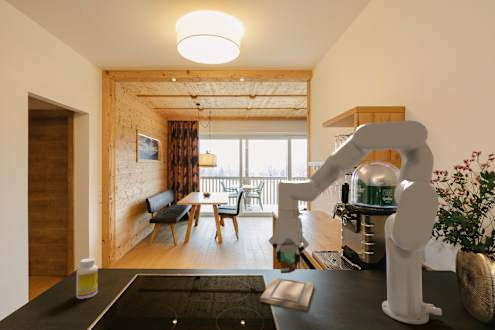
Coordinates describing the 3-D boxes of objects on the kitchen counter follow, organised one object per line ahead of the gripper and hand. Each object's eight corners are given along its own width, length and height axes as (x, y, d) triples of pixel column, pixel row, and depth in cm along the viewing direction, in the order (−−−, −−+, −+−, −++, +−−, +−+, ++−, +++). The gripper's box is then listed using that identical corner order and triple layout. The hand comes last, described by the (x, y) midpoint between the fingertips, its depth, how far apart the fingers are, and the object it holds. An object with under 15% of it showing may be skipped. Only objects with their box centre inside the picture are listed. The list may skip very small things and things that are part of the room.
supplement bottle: (100, 294, 93) (100, 259, 93) (79, 301, 88) (79, 264, 88) (94, 289, 97) (94, 255, 98) (74, 295, 92) (74, 260, 93)
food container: (298, 276, 86) (298, 246, 87) (280, 274, 88) (280, 245, 88) (298, 263, 98) (298, 237, 99) (282, 262, 100) (282, 236, 100)
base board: (314, 287, 98) (314, 282, 98) (307, 310, 81) (307, 305, 82) (274, 280, 104) (274, 276, 104) (260, 301, 87) (260, 296, 88)
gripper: (313, 213, 94) (313, 262, 94) (269, 211, 100) (269, 256, 100) (310, 217, 87) (310, 269, 87) (263, 213, 93) (263, 263, 93)
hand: (288, 262), depth 93 cm, fingers closed on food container, 5 cm apart
